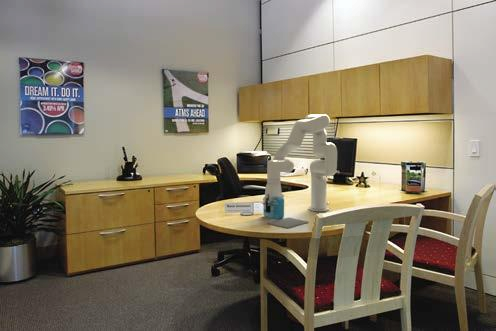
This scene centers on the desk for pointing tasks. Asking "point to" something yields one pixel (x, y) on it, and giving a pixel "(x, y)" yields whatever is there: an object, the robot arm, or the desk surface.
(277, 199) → the teal rounded box
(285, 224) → the desk mat
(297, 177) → the desk surface
